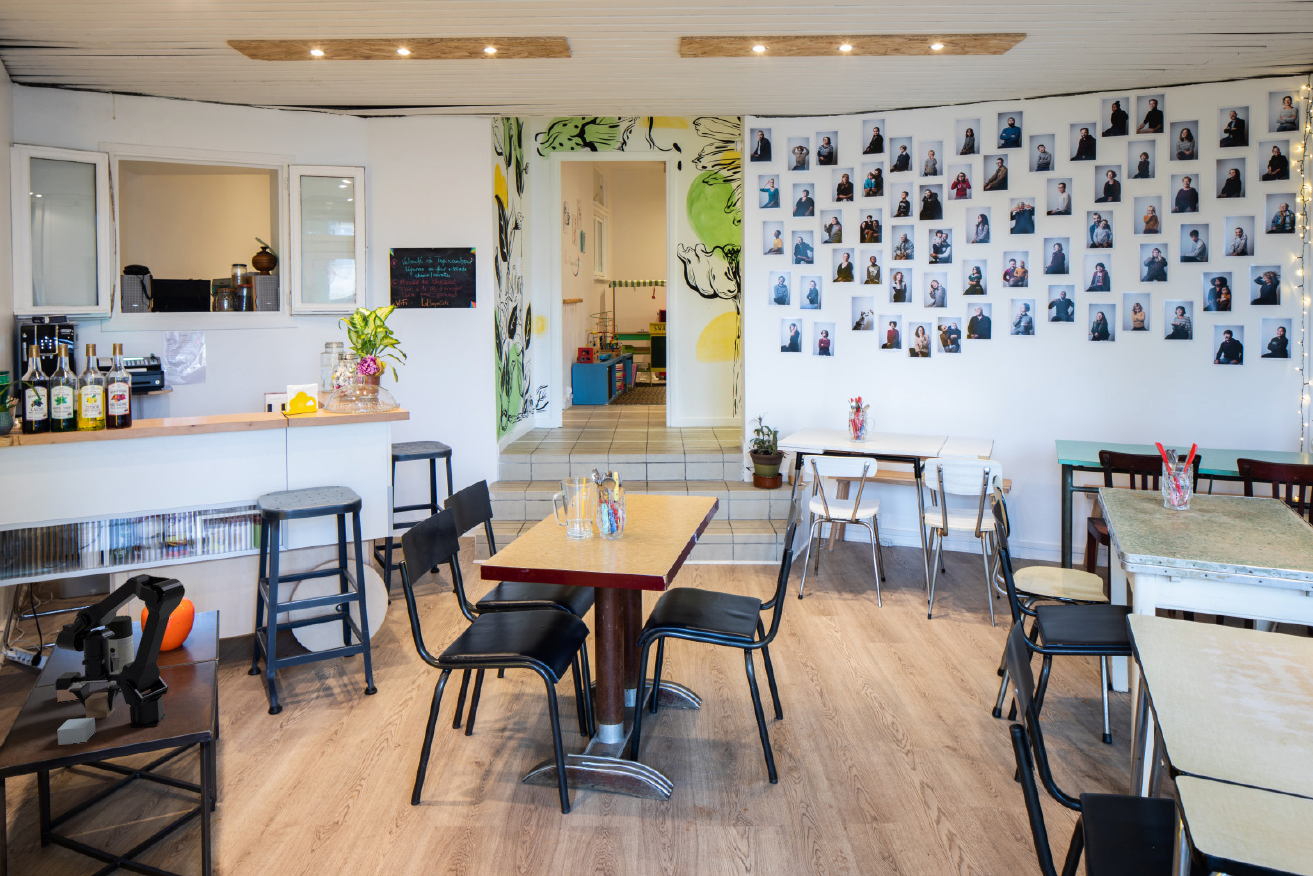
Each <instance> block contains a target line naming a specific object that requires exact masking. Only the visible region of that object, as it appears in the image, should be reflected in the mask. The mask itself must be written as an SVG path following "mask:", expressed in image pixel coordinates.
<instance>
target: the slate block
mask: <svg viewBox="0 0 1313 876" xmlns="http://www.w3.org/2000/svg"><path fill="white" fill-rule="evenodd" d="M95 721H96V720H95V718H86V717H84V718H73V719H67V720H66V721H65V722H64V723H63V724H62V725H61V726H60V727H58V728H57V730H56V731H57V745H58V746H59V745H60V746H61V745H72V744H73V743H77V744H81V743H80V742H86V743H88V741H89V740H90V739H91V738H92V737H91V736H92V735H93V734H94V735H95V733H96V722H95ZM94 732H95V733H94ZM94 735H93V736H94ZM90 737H91V738H90ZM89 738H90V739H89ZM88 739H89V740H88ZM87 740H88V741H87Z"/></svg>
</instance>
